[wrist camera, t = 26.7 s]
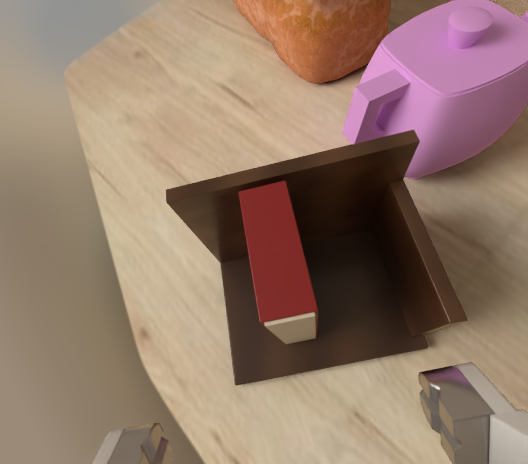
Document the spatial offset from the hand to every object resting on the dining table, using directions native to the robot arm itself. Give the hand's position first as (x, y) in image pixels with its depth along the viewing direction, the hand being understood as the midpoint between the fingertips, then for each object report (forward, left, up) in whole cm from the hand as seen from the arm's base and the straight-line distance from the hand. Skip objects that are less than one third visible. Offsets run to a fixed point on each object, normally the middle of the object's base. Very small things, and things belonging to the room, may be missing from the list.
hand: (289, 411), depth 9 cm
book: (0, +8, -17) cm, 18 cm away
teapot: (+18, +22, -18) cm, 34 cm away
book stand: (+2, +7, -18) cm, 19 cm away
